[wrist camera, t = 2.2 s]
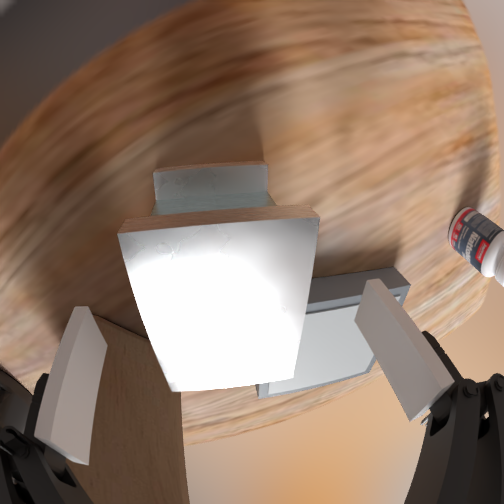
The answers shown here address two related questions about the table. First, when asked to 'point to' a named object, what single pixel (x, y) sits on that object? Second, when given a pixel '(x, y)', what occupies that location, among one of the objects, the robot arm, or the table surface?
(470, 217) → the pill bottle
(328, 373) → the stand
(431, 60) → the table surface
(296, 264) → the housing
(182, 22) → the table surface
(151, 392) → the wooden block
